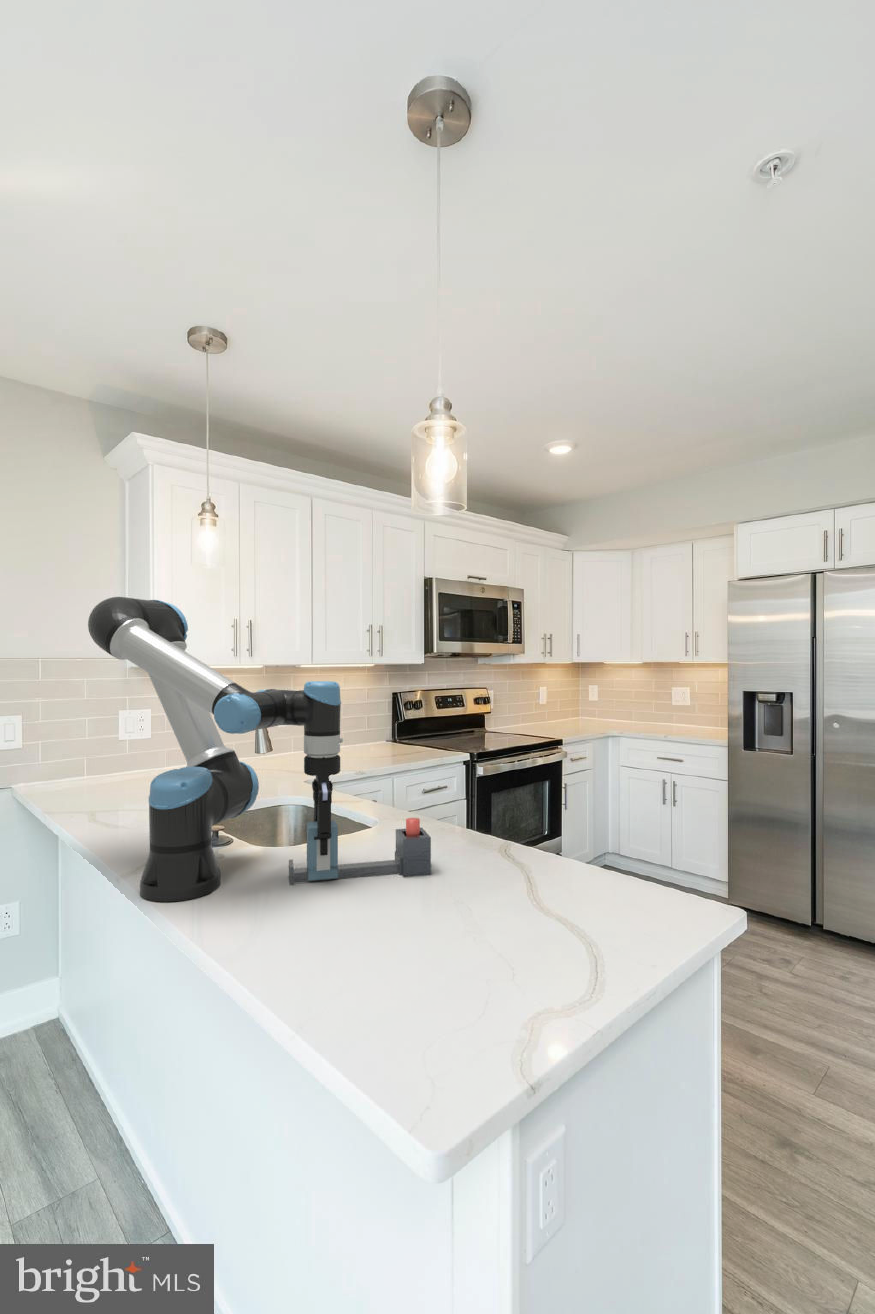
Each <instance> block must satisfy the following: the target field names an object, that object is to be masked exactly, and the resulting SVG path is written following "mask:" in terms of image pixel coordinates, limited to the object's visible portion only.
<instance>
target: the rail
mask: <svg viewBox="0 0 875 1314" xmlns="http://www.w3.org/2000/svg"><path fill="white" fill-rule="evenodd" d="M397 874H398V875H399V876H402V858H401V856H400V855H399V853H398V852H397V851H396V850H395V851H394V859H391V860H390V859H389V860H379V861H378V860H377V861H366V862H355V863H354V862H353V863H343V864H338V878H332V879H321V880H310V881H308V868H307V866H306V867H294V860H293V859H288V880H289V882H288V883H289V886H293V885H295V884H296V883H297V884H298V883H307V882H319V881H320V882H321V881H330V880H341V879H351V878H353V879H354V878H363V877H364V878H365V877H374V876H387V875H397Z"/></svg>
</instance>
